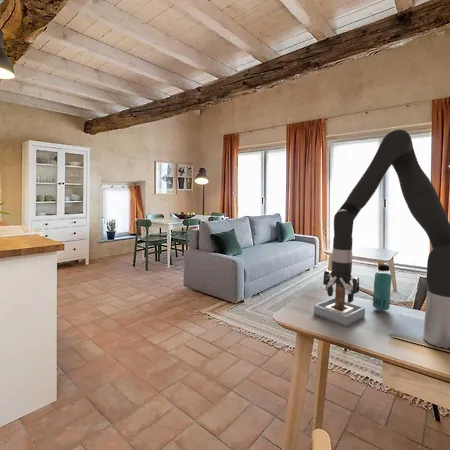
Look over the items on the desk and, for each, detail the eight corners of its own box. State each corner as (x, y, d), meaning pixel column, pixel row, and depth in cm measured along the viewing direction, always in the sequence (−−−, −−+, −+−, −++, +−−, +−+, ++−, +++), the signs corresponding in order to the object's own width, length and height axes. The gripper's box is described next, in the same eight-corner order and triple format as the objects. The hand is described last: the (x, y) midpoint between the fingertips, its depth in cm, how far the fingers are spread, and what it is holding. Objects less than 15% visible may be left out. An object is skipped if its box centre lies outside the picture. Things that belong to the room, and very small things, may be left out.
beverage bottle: (385, 307, 127) (388, 262, 125) (392, 314, 121) (396, 267, 118) (369, 307, 128) (372, 262, 125) (375, 313, 121) (379, 266, 119)
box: (364, 317, 118) (365, 307, 118) (345, 327, 110) (346, 317, 109) (333, 306, 129) (333, 297, 129) (313, 314, 121) (314, 305, 120)
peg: (345, 314, 119) (347, 285, 117) (340, 316, 117) (342, 287, 115) (337, 311, 122) (339, 283, 120) (332, 313, 120) (334, 285, 118)
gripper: (364, 261, 113) (361, 302, 115) (331, 255, 124) (329, 292, 126) (353, 264, 109) (351, 306, 111) (320, 257, 120) (319, 295, 122)
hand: (339, 299), depth 119 cm, fingers open, 8 cm apart
